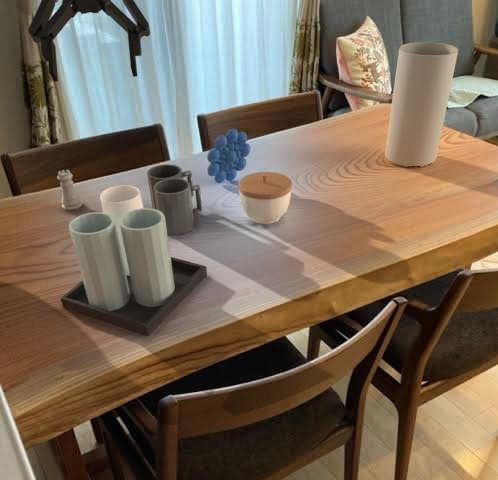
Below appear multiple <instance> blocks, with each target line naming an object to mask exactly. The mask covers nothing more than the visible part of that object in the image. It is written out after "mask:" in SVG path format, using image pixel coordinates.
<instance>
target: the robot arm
mask: <svg viewBox="0 0 498 480" xmlns="http://www.w3.org/2000/svg"><path fill="white" fill-rule="evenodd" d="M56 3H59V0H41V1H40V3H39V5H38V7H37V10H36V11H35V13H34V16H33V18H32V21H31V22H30V25H29V27H28V29H27V31H28V34H29V35H30V38H31V39H32V41H33V42H34V43H40V51H41V55H42V58H43V59H44V62H47V65H48V74H49V76H50V77H51V80H52V81H53V82H54V83H55V82H59V76H58V75H59V73H58V62H57V48H56V44H55V42H54V41H55V39H56V38H57V36H58V35H59V34H60V33H61V32H62V30H63V29H64V28H65V26H66V25H67V24H68V23H69V21H70V20H71V19H73V18H75V17H76V15H77V14H78V13H80V14H81V15H86V14H90V13H92V14H100V12H103V13H104V14H105V15H107V16H108V17H110V18H111V19H112V20H113V21H114V22H115V23H116V24H118V26H120V27H121V28H122V29H123V30H124V31H125V32H126V33H127V41H128V51H129V52H128V53H129V63H130V71H131V73H132V77H133V78H135V77H138V67H137V57H141V56H142V52H143V51H142V42H141V39H142V38H143V37H150V35H151V28H150V24H149V22H148V21H147V19H146V17H145V16H144V14H143V13H142V10H141V9H140V7H139V6H138V4H137V3H136V2H135V0H122V3H123V5H124V7H125V8H126V9H127V12H128V13H129V14H130V16H131V18H132V19H133V20H134V21H133V20H132V19H131V18H130V17H129V16H127V15H126V13H124V11H122V9H120V8H119V7H118V6H117V5H116V4H115V3H114V2H113V0H62V1H61V5H60V6H59V7H58V9H57V10H56V11H55V12H54V10H55V7H56ZM53 12H54V13H53Z"/></svg>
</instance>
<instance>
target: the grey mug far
mask: <svg viewBox="0 0 498 480" xmlns="http://www.w3.org/2000/svg"><path fill="white" fill-rule="evenodd" d="M146 175H147V182H148V188H149V195H150V200H151V208H152V209H156V210H157V208H156V201H155V195H154V188H153V187H154V185H155V184H156V183H157V182H159V181H161V180H165V179H171V178H179V179H184V178H185V177H186V178H187V180H186V181H188V182H189V183H190V187H191V186H194V184H193V183H194V182H193V173H192V170H186V171H183V169H182V167H180V165H179V166H178V165H176V164H159V165H155V166H152V167H150V168H149V169H148V170H147V171H146ZM194 192H195V191H192V192H191V198H194V195H195V193H194Z"/></svg>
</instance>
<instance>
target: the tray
mask: <svg viewBox="0 0 498 480" xmlns="http://www.w3.org/2000/svg"><path fill="white" fill-rule="evenodd" d="M170 257H171V264H172V271H173V279H174V286H175V294H174V295H173V296H172V297H171V298H170V299H169V300H168V301H167V302H166V303H165V304H164V305H161V306H157V307H146V306H142V305H140V304H138V303H137V302H136V301H135V298H134V293H133V288H132V283H131V278H130V276H127V275H126V276H127V281H128V286H129V291H130V295H131V297H130V300H129V302H128V303H127V304H126V305H124V306H123V307H121V308H119V309H116V310H113V311H107V310H104V309H101V308H98V307H95V306H92V305H89V301H88V297H87V294H86V290H85V286H84V283H83V280H81V281H80V282H78V283H77V284H76V285H75V286H74V287H72V288H71V289H70V290H69V291H67V292H66V293H64V294H63V295H62V296H61V297H60V299H59V300H60V302H61V306H62V308H63V309H66V310H69V311H73V312H75V313H79V314H82V315H84V316H87V317H90V318H93V319H97V320H99V321H102V322H105V323H107V324H111V325H114V326H117V327H120V328H123V329H125V330H129V331H132V332H133V333H134V332H135V333H138V334H140V335H144V336H146V337H149V336H150V335H151V334H152V333H153V332H154V331H155V330H156V329H157V328H158V327H159V326H160V324H161V323H163V322H164V320H165V319H166V318H168V317H169V315H171V313H172V312H173V311H174V310H175V309H176V308H177V307H178V306H179V305H180V304H181V303H182V302H183V301H184V300H185V299H186V298H187V297H188V296H189V295H190V294H191V293H192V292H193V290H195V289H196V288H197V287H198V285H200V283H202V282H203V280H205V278H207V276H208V271H207V270H208V269H207V266H206V265H203V264H199V263H195V262H192V261H188V260H184V259H180V258H178V257H173V256H170Z"/></svg>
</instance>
